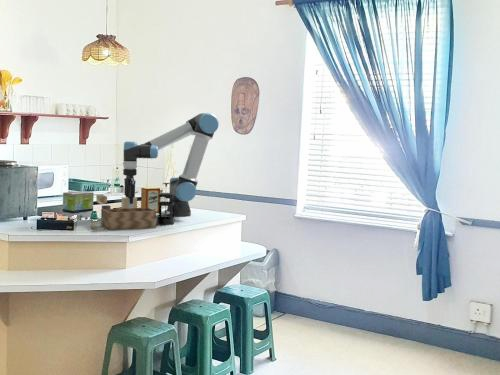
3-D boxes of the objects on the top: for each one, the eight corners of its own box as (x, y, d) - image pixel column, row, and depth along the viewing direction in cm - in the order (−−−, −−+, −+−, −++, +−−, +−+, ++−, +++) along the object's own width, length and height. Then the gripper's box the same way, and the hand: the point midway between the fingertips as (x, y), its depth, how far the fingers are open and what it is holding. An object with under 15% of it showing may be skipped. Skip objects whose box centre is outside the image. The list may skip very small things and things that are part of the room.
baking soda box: (154, 211, 391) (154, 186, 389) (159, 213, 386) (160, 187, 384) (140, 212, 385) (141, 187, 383) (146, 214, 380) (146, 188, 378)
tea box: (74, 219, 349) (75, 193, 347) (61, 218, 354) (62, 192, 352) (93, 216, 362) (94, 191, 360) (81, 215, 367) (81, 190, 365)
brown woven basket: (145, 222, 348) (145, 204, 347) (155, 227, 334) (156, 208, 332) (99, 224, 336) (99, 205, 335) (108, 230, 321) (108, 210, 320)
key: (102, 201, 347) (102, 194, 347) (107, 204, 339) (107, 196, 339) (96, 202, 346) (96, 195, 345) (100, 204, 338) (100, 197, 337)
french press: (164, 225, 341) (165, 184, 338) (152, 223, 346) (153, 182, 344) (179, 223, 350) (180, 183, 347) (167, 221, 355) (168, 181, 353)
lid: (146, 213, 370) (146, 195, 369) (154, 217, 358) (154, 198, 357) (103, 215, 358) (103, 196, 357) (110, 219, 346) (110, 199, 344)
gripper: (119, 167, 361) (118, 206, 363) (128, 169, 346) (127, 211, 348) (131, 167, 364) (131, 206, 367) (141, 169, 349) (140, 210, 352)
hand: (129, 208), depth 358 cm, fingers closed on lid, 4 cm apart
